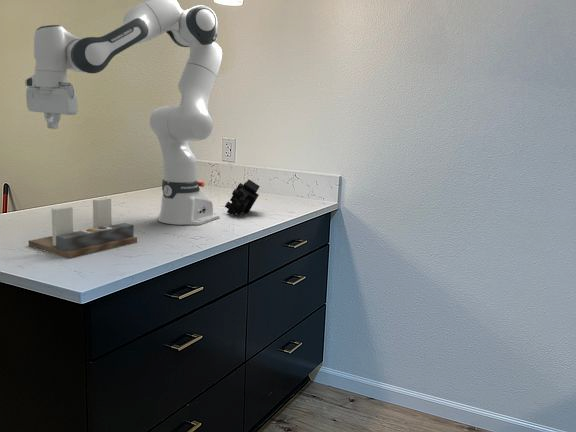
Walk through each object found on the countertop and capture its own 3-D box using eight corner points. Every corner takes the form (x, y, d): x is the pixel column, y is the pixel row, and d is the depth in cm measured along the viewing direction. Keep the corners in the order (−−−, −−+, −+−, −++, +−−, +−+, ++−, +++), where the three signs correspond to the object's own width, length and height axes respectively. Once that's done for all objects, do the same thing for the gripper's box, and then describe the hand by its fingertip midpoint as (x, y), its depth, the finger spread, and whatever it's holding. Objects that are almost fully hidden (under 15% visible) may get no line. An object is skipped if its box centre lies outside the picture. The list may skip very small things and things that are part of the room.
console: (97, 232, 178) (96, 214, 177) (137, 242, 168) (137, 224, 167) (28, 245, 159) (27, 226, 158) (69, 258, 150) (68, 237, 148)
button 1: (67, 241, 159) (66, 206, 157) (73, 243, 158) (72, 207, 155) (51, 244, 155) (50, 208, 153) (57, 246, 153) (56, 209, 151)
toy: (219, 214, 211) (234, 195, 224) (238, 226, 212) (252, 206, 224) (231, 191, 205) (246, 173, 217) (251, 204, 205) (265, 185, 217)
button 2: (106, 230, 174) (105, 197, 172) (111, 231, 173) (111, 198, 171) (92, 232, 170) (91, 199, 168) (97, 234, 168) (97, 200, 166)
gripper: (82, 83, 167) (83, 130, 170) (40, 81, 178) (42, 126, 181) (63, 82, 162) (65, 131, 165) (21, 80, 173) (23, 126, 176)
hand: (52, 128), depth 173 cm, fingers closed
